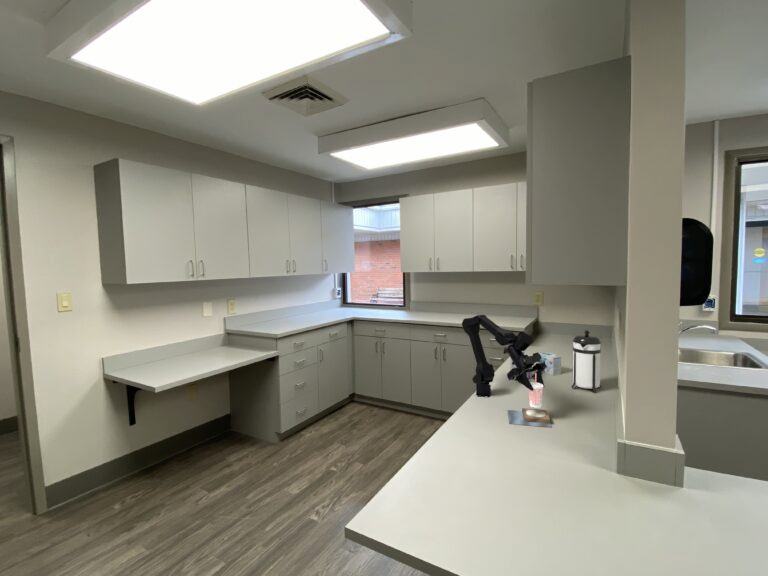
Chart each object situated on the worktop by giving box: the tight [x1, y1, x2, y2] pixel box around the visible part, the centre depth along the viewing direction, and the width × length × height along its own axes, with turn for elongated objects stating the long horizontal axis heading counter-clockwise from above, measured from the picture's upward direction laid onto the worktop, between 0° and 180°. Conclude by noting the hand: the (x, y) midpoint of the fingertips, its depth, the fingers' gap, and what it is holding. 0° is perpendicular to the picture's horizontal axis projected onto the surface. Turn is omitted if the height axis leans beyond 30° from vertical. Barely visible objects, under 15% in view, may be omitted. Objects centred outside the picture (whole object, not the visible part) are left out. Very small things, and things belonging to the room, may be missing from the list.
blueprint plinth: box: [507, 407, 552, 429], centre depth 157 cm, size 16×14×2 cm
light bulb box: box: [538, 351, 562, 377], centre depth 217 cm, size 11×7×11 cm, turn 25°
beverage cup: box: [528, 373, 545, 409], centre depth 156 cm, size 6×6×14 cm
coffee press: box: [571, 329, 602, 394], centre depth 191 cm, size 17×16×30 cm
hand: (538, 388), depth 155 cm, fingers closed on beverage cup, 6 cm apart
